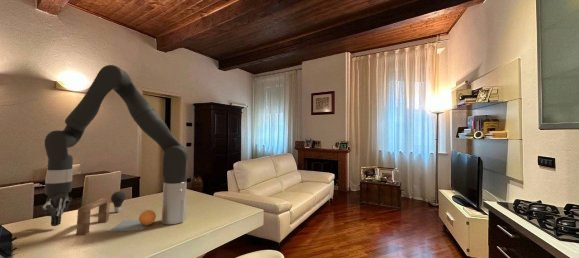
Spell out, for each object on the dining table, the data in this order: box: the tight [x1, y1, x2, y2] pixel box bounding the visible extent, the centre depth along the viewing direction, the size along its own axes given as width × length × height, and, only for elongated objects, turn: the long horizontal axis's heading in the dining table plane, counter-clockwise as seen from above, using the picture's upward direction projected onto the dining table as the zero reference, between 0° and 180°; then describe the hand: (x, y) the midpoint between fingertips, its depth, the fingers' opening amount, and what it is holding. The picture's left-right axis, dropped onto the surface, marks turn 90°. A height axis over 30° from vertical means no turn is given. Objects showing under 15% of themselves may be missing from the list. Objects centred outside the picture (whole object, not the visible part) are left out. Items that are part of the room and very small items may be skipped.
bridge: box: [75, 197, 111, 236], centre depth 92 cm, size 3×15×10 cm, turn 12°
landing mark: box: [107, 219, 148, 233], centre depth 94 cm, size 12×12×1 cm
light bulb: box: [110, 191, 126, 213], centre depth 111 cm, size 6×6×10 cm
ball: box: [138, 209, 157, 226], centre depth 96 cm, size 6×6×6 cm
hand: (55, 225), depth 89 cm, fingers closed
